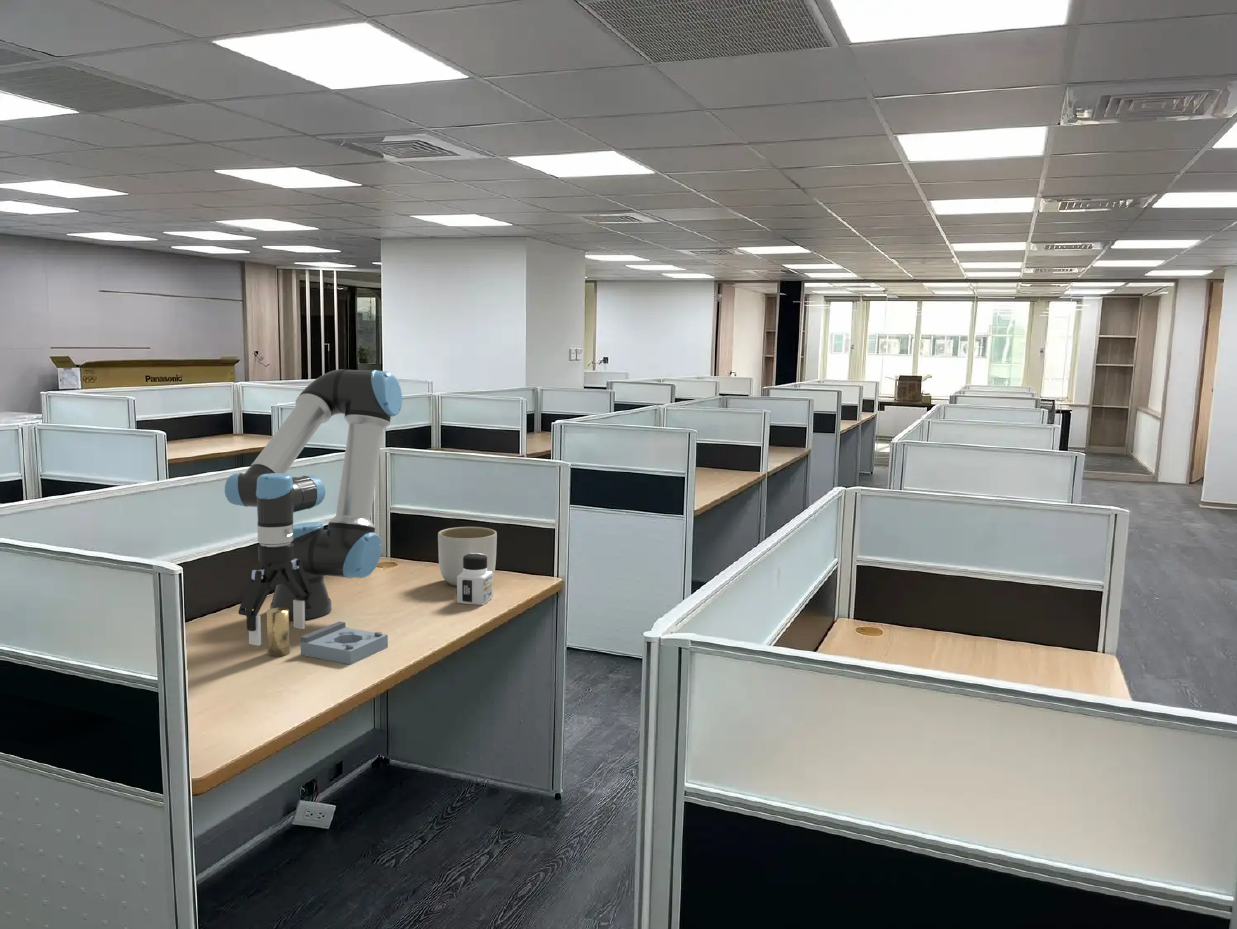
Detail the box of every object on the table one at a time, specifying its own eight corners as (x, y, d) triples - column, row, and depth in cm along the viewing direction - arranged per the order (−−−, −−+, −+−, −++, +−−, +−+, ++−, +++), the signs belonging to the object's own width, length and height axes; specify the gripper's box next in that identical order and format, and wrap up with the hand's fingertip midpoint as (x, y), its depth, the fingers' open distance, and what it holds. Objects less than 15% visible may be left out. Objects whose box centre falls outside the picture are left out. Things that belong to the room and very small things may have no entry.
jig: (300, 654, 208) (300, 636, 207) (339, 638, 220) (339, 621, 219) (350, 664, 203) (350, 646, 202) (387, 647, 214) (387, 629, 214)
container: (483, 605, 250) (483, 558, 248) (456, 603, 251) (456, 556, 250) (493, 598, 257) (493, 552, 256) (466, 596, 259) (466, 550, 257)
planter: (508, 581, 276) (508, 531, 274) (471, 593, 261) (471, 541, 259) (463, 573, 284) (463, 524, 282) (426, 584, 270) (425, 533, 268)
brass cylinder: (263, 655, 207) (262, 611, 206) (278, 649, 212) (277, 606, 210) (279, 658, 206) (278, 614, 204) (294, 652, 210) (293, 609, 208)
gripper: (245, 555, 192) (248, 654, 195) (327, 535, 215) (328, 623, 218) (218, 552, 195) (221, 649, 198) (302, 532, 218) (303, 619, 221)
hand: (277, 636), depth 208 cm, fingers open, 13 cm apart
